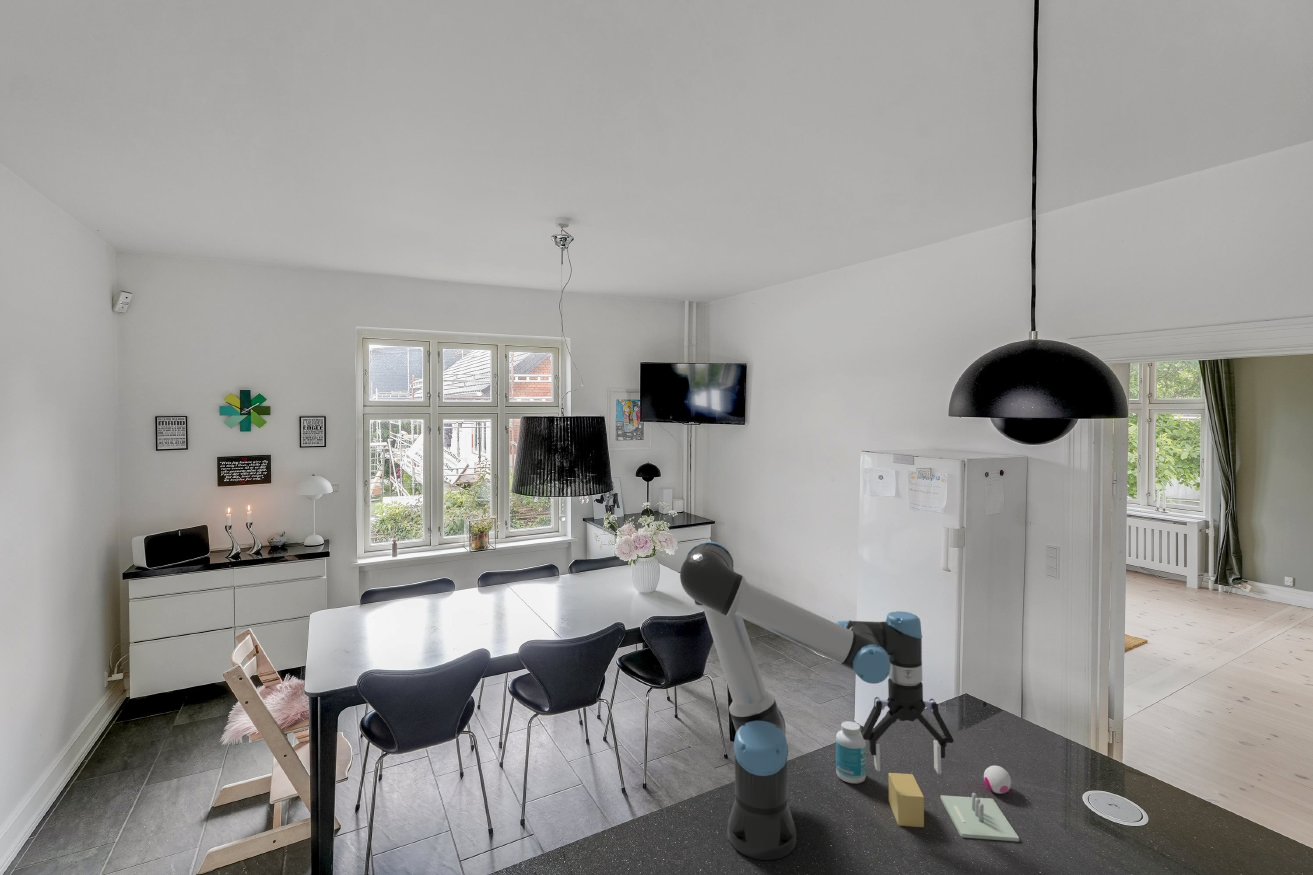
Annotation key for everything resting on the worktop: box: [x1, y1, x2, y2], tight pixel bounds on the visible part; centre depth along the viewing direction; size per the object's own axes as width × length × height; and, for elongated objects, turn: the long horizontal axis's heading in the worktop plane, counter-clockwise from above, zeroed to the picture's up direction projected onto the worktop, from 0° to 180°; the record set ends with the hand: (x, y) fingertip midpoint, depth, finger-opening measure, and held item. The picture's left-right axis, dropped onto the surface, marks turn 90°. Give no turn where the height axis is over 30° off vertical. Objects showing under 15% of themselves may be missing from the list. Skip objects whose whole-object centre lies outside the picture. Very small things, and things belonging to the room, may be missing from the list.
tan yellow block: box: [887, 772, 925, 828], centre depth 142 cm, size 6×9×7 cm, turn 172°
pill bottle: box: [835, 720, 867, 784], centre depth 157 cm, size 8×7×14 cm
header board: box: [940, 792, 1020, 842], centre depth 140 cm, size 12×14×5 cm
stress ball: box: [982, 765, 1012, 795], centre depth 151 cm, size 8×8×7 cm
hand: (907, 769), depth 142 cm, fingers open, 13 cm apart
